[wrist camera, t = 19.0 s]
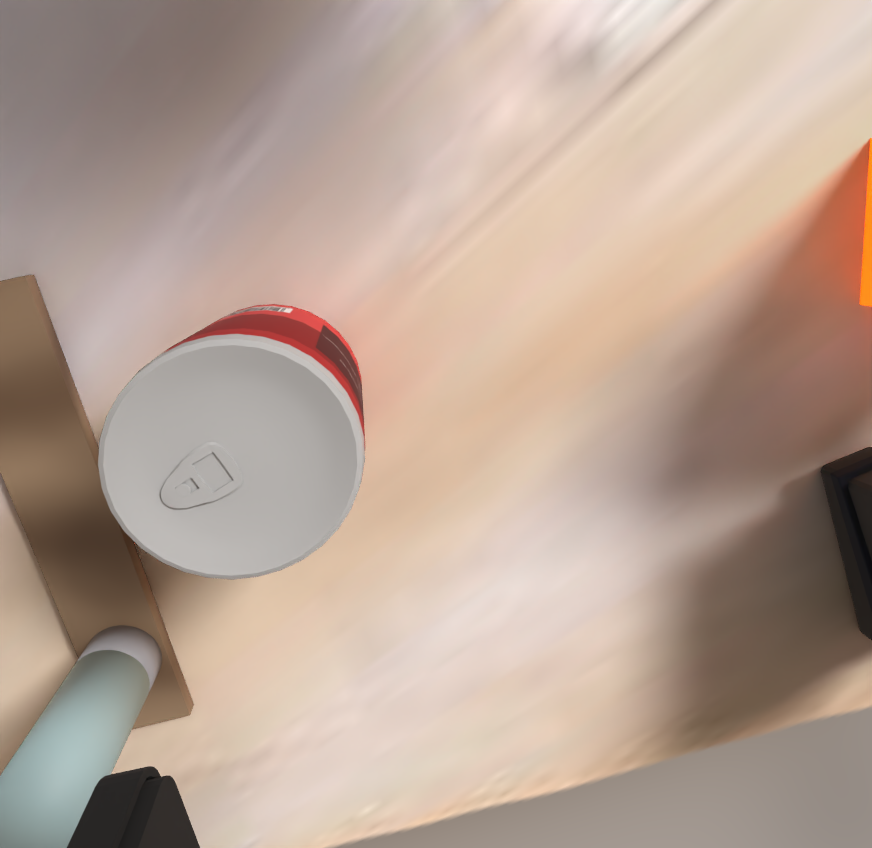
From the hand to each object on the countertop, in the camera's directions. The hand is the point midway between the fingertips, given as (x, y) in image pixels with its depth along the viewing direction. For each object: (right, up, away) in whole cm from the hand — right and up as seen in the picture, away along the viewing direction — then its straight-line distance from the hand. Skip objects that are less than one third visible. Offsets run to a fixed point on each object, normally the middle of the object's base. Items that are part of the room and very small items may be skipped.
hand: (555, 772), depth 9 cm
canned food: (-9, +6, +23) cm, 25 cm away
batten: (-18, 0, +23) cm, 29 cm away
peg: (-17, -7, +24) cm, 30 cm away
